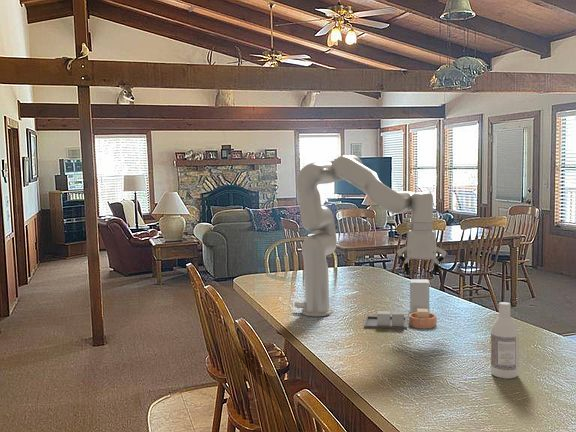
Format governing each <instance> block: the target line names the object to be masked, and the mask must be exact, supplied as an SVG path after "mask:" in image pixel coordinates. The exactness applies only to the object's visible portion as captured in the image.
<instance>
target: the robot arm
mask: <svg viewBox="0 0 576 432" xmlns="http://www.w3.org/2000/svg"><path fill="white" fill-rule="evenodd" d="M339 181H346V182H348V183H349V184H351V186H354V187H355V188H356V189H359V190H360V191H362V192H363V194H365V196H366V197H367V198H368V199H370V200H371V201H372V202H373V203H374V204H375V205H377V206H379V207H381V208H383V209H384V210H385V211H387V212H389V213H391V214H401V213H405V212H410V214H411V215H410V223H407V224H406V228H409V230H408V233H407V243H406V246H404V247H401V248H399V249H398V250H396V254H397V255H398V257H399V259H400V260H401V261H402V262H403V263H404V272H406V275H409V273H410V272H409V271H410V270H409V269H410V268H409V266H410V263H409V261H410V260H432V261H433V262H434V263H433V275H434V276H437V274H438V273H439V264H440V263H441V262H442V261H444V258H445V257H446V255H447V251H446V250H444V249H442V248H440V247H438V246H437V237H436V231H435V230H433V224H434V221H433V219H434V215H433V214H434V197H433V193H431V192H427V191H426V192H425V191H423V192H422V191H421V192H413V191H412V192H411V191H406V190H402V191H395V190H394V189H393V188H390V187H389V186H387V185H386V184H384V183H383V182H382V181H381V180H380V179H379V176H378V173H377V172H376V171H374V170H372V169H371V168H369V167H367V166H366V165H364V164H363V162H362V159H360V158H359V157H358V156H356V155H353V154H351V155H349V154H348V155H347V154H346V155H345V154H343V155H340V156H338V157H337V158H336V159H335V160H332V161H326V162H324V161H322V162H320V161H319V162H318V161H317V162H316V161H315V162H312V163H311V162H310V163H308V164H306V165H305V166H303V167H302V168H300V171H299V172H298V174H297V177H296V189H297V195H298V203H299V210H300V219H301V225H302V226H303V228H304V229H305V230H306V231H308V232H314V234H311V235H308V236H307V237H306V238H305V239H303V242H302V244H301V253H302V258H303V267H304V269H303V272H304V296H305V297H304V300H305V301H302V302H299V301H295V302H294V307H295V308H297V309H301V314H302V315H304V316H306V317H307V316H308V317H315V318H316V317H319V318H320V317H326V316H330V315H332V314H333V313H334V309H333V308H332V307H330V287H329V286H330V284H329V281H330V280H329V264H328V260H327V256H329V255H332V254H334V252H335V250H336V249H337V246H338V244H337V243H338V240H337V232H336V231H337V230H336V223H335V218H334V214H333V212H332V210H331V209H330V208H329V207H327V206H324V205H322V200H321V195H320V192H319V189H318V185H320V184H321V185H325V184H332V183H335V182H336V183H337V182H339ZM404 252H406V257H404V255H403V253H404ZM437 252H438V253H440V256H439V257H437Z"/></svg>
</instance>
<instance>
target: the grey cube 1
mask: <svg viewBox="0 0 576 432" xmlns="http://www.w3.org/2000/svg"><path fill="white" fill-rule="evenodd" d="M376 314H377V315H376V316H377V326H390V317H391V311H387V310H385V311H384V310H377V313H376Z"/></svg>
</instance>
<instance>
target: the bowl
mask: <svg viewBox="0 0 576 432" xmlns="http://www.w3.org/2000/svg"><path fill="white" fill-rule="evenodd" d="M437 321H438V320H437V314H436V313H431V312H429V313H428V318H427V319H421V318H417V312H415V313H409V314H408V322H409V323H408V325H409V326H411V327H412V328H413V327H414V328H417V329H418V328H419V329H430V328H435V327H437V324H438V323H437Z"/></svg>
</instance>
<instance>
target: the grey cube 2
mask: <svg viewBox="0 0 576 432" xmlns="http://www.w3.org/2000/svg"><path fill="white" fill-rule="evenodd" d="M391 317H392V326H404V317H405V311H391Z"/></svg>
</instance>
